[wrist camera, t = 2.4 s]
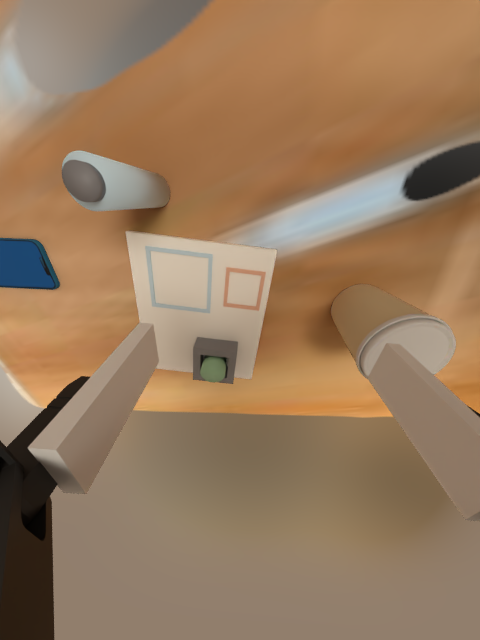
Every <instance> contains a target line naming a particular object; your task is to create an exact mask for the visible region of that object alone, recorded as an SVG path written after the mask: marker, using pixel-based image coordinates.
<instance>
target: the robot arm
mask: <svg viewBox="0 0 480 640" xmlns="http://www.w3.org/2000/svg"><path fill="white" fill-rule="evenodd" d="M158 363H159V357H158V351H157V345H156V338H155V332H154V326H153V324H149V323H139V324H138V325H137V326H136V327H135V328H134V329H133V330H132V331H131V333H130V334H129V335H128V336H127V337H126V338H125V339H124V340H123V342H122V343H121V344H120V345H119V346H118V347H117V348H116V349H115V350H114V352H113V353H112V354H111V355H110V356H109V357H108V358H107V359H106V361H105V362H104V363H103V364H102V365H101V366H100V367H99V368H98V369H97V371H96V372H95V373H94V374H93V375H92V376H91V377H85V376H81V377H80V378H78V379H77V380H75V381H73V382H72V383H70V384H69V385H67V386H66V387H65V388H64V389H63V390H62V391H61V392H60V393H59V394H58V395H57V398H56V399H54V400H53V401H52V402H51V403H50V404H49V405H48V406H47V408H45V409H44V410H43V411H42V412H41V413H40V414H39V415H38V416H37V417H36V418H35V419H34V420H33V421H32V422H31V423H30V424H29V425H28V426H27V427H26V428H25V429H24V430H23V431H22V432H21V433H20V434H19V435H18V436H17V437H16V438H15V439H14V440H13V441H12V442H11V443H10V444H9V445H8V446H7V447H6V446H5V445H4V444H3V443H2V442H1V441H0V640H54V601H53V550H52V502H51V498H50V495H51V493H52V492H53V490H54V489H55V487H56V486H57V485H58V486H59V488H60V489H61V490H62V491H63V492H64V493H77V494H87V492H88V490H89V488H90V486H91V485H92V483H93V481H94V479H95V477H96V475H97V474H98V472H99V470H100V468H101V466H102V465H103V463H104V461H105V459H106V457H107V456H108V454H109V452H110V450H111V448H112V446H113V444H114V443H115V441H116V439H117V437H118V436H119V433H120V432H121V430H122V428H123V426H124V425H125V423H126V421H127V419H128V417H129V415H130V414H131V412H132V410H133V408H134V406H135V405H136V403H137V401H138V399H139V397H140V396H141V394H142V392H143V390H144V388H145V386H146V385H147V383H148V381H149V379H150V377H151V376H152V374H153V372H154V370H155V368H156V366H157V365H158ZM368 380H369V381H370V383H371V384H372V386H373V387H374V389H375V390H376V391H377V393H378V394H379V396H380V397H381V399H382V400H383V402H384V403H385V404H386V406H387V407H388V409H389V410H390V412H391V413H392V415H393V416H394V418H395V419H396V420H397V422H398V423H399V425H400V426H401V428H402V429H403V431H404V432H405V433H406V435H407V436H408V438H409V439H410V441H411V442H412V443H413V445H414V447H415V448H416V449H417V451H418V452H419V454H420V455H421V457H422V458H423V459H424V461H425V462H426V464H427V465H428V467H429V468H430V470H431V471H432V473H433V474H434V475H435V477H436V478H437V480H438V481H439V483H440V484H441V486H442V487H443V489H444V490H445V491H446V493H447V494H448V496H449V497H450V499H451V500H452V502H453V503H454V504H455V506H456V507H457V509H458V510H459V511H460V513H461V514H462V516H463V518H464V519H465V520H473V521H480V414H479V413H477V412H476V411H474V410H473V409H471V408H470V407H468V406H467V405H466V404H464V403H463V402H462V401H461V400H460V399H459V398H458V397H457V396H456V395H455V394H454V393H452V392H451V391H450V390H449V389H448V388H447V387H446V386H445V385H444V384H443V383H442V382H441V381H439V380H438V379H437V378H436V377H435V376H434V375H433V374H432V373H431V372H430V371H429V370H427V369H426V368H425V367H424V366H423V365H422V364H421V363H420V362H419V361H418V360H417V359H416V358H414V357H413V356H412V355H411V354H410V353H409V352H408V351H407V350H406V349H405V348H404V347H402V346H401V345H400V344H393V343H386V345H385V347H384V348H383V350H382V352H381V354H380V356H379V358H378V359H377V361H376V363H375V365H374V367H373V369H372V370H371V372H370V374H369V376H368Z"/></svg>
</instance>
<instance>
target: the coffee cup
mask: <svg viewBox="0 0 480 640" xmlns="http://www.w3.org/2000/svg"><path fill="white" fill-rule="evenodd" d="M331 316H332V319H333V321H334V323H335V325H336V327H337V329H338V331H339V332H340V334H341V336H342V338H343V340H344V342H345V344H346V345H347V347H348V349H349V351H350V353H351V355H352V356H353V358H354V360H355V362H356V365H357V367H358V369H359V371H360V372H361V374H362V375H363V376H364V377H365V378H367V379H368V376H369V374H370V372H371V370H372V369H373V367H374V365H375V363H376V361H377V359H378V358H379V356H380V354H381V352H382V350H383V348H384V347H385V345H386V343H393V344H400V345H401V346H402V347H404V348H405V349H406V350H407V351H408V352H409V353H410V354H411V355H412V356H413V357H414V358H416V359H417V360H418V361H419V362H420V363H421V364H422V365H423V366H424V367H425V368H426V369H427V370H429V371H430V372H431V373H432V374H433V375H435V374H436V373H437V372H439V371H440V370H441V369H442V368H443V367H444V366H446V364H447V363H448V362H449V361H450V359H451V358H452V356H453V354H454V352H455V348H456V340H455V336H454V334H453V332H452V330H451V328H450V327H449V325H448V324H446V323H445V322H444V321H443V320H441V319H439V318H437V317H435V316H431V315H429V314H427V313H425V312H423V311H421V310H419V309H418V308H416V307H414V306H412V305H410V304H408V303H406V302H404V301H402V300H401V299H399V298H397V297H395V296H393V295H391V294H389V293H387V292H385V291H383V290H381V289H379V288H377V287H375V286H372V285H369V284H358V285H354V286H351V287H349V288H347V289H345V290H343V291H342V292H341V293H340V294H339V295H338V296H337V297H336V298H335V300H334V302H333V304H332V307H331Z"/></svg>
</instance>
